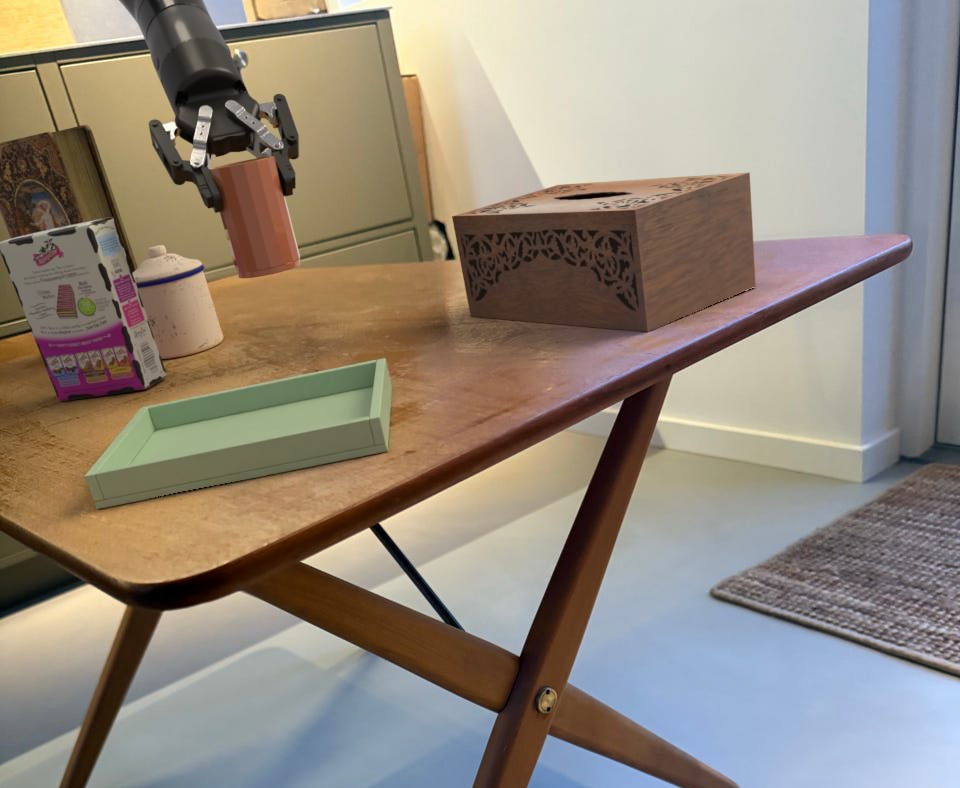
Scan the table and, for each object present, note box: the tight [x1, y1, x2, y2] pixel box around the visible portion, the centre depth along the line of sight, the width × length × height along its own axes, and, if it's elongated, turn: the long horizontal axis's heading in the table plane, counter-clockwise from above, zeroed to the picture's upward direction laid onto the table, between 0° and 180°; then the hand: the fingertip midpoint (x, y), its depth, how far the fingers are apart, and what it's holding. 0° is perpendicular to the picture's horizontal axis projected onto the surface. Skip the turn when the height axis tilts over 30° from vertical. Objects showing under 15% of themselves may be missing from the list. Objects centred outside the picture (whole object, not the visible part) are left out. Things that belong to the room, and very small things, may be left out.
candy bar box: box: [0, 217, 168, 402], centre depth 106 cm, size 11×5×16 cm, turn 76°
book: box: [0, 124, 139, 273], centre depth 126 cm, size 16×6×25 cm, turn 56°
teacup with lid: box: [132, 244, 224, 360], centre depth 119 cm, size 12×9×12 cm
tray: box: [83, 357, 393, 510], centre depth 81 cm, size 22×18×3 cm
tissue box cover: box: [451, 172, 757, 333], centre depth 100 cm, size 26×14×10 cm, turn 38°
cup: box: [209, 155, 302, 279], centre depth 101 cm, size 6×6×10 cm
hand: (253, 197), depth 98 cm, fingers closed on cup, 6 cm apart
